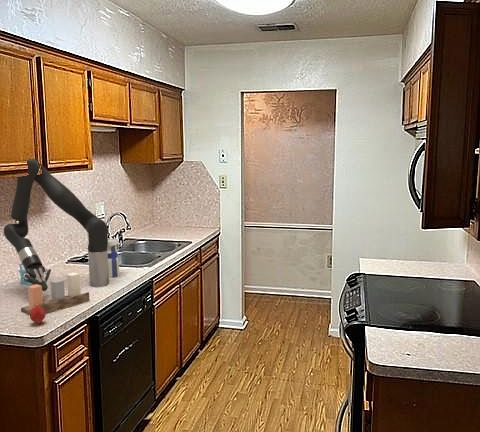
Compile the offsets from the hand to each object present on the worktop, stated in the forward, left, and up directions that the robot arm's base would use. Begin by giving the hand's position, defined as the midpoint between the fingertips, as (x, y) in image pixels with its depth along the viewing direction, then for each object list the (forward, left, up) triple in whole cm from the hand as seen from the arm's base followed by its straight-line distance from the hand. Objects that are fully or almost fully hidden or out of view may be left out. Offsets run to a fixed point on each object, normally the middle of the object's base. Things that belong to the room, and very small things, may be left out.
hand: (45, 290), depth 220 cm
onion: (+24, +12, -6) cm, 27 cm away
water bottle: (-44, +12, -6) cm, 46 cm away
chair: (-25, -24, -6) cm, 35 cm away
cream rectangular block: (-5, +11, -4) cm, 13 cm away
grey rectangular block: (+5, +9, -4) cm, 11 cm away
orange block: (+14, +4, -4) cm, 15 cm away
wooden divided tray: (+4, +8, -5) cm, 10 cm away
